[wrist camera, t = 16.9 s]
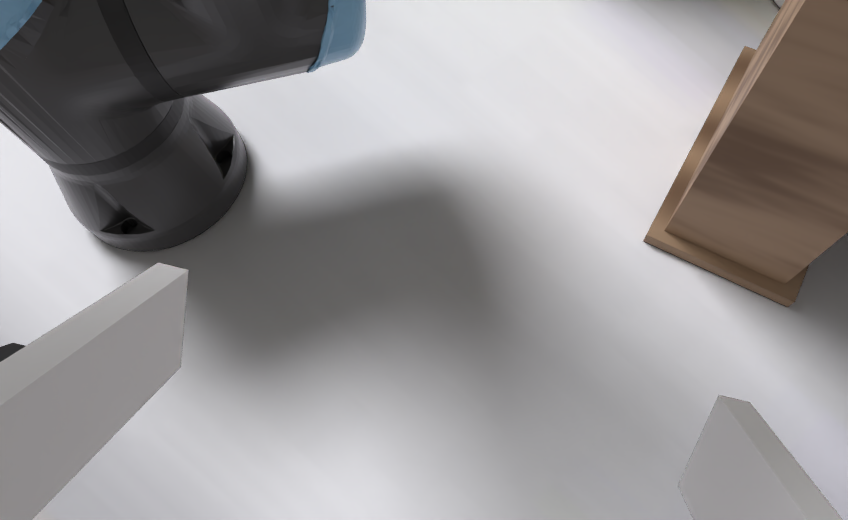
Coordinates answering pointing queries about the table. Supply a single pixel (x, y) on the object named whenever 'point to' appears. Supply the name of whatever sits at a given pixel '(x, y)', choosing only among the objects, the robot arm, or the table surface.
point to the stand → (769, 159)
